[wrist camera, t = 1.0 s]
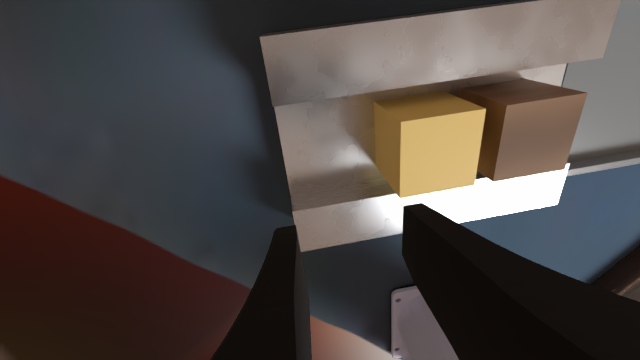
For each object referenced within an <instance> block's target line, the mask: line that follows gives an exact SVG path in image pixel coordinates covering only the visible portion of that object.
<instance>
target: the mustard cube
mask: <svg viewBox="0 0 640 360" xmlns="http://www.w3.org/2000/svg"><path fill="white" fill-rule="evenodd" d="M485 113H486V108H483V107H481V106H478V105H476V104H473V103H471V102H468V101H466V100H464V99H461V98H459V97H456V96H454V95H451V94H449V93H446V92H444V91H438V92H432V93H425V94H418V95H412V96H405V97H398V98H392V99H385V100H378V101H374V123H375V161H376V167H377V168H378V169H379V171H380V172H381V173H382V175H383V176H384V178H385V179H386V180H387V182H388V183H389V184H390V186H391V187H392V189H393V190H394V191H395V193H396V194H397V195H398V197H399V198H405V197H411V196H416V195H422V194H428V193H433V192H439V191H445V190H451V189H456V188H462V187H468V186H473V185H475V180H476V173H477V166H478V160H479V153H480V146H481V140H482V133H483V127H484V120H485Z"/></svg>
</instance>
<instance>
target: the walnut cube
mask: <svg viewBox="0 0 640 360" xmlns="http://www.w3.org/2000/svg"><path fill="white" fill-rule="evenodd" d="M587 94H588V93H587V92H582V91H578V90H573V89H569V88H564V87H560V86H556V85H551V84H547V83H542V82H538V81H533V80H529V79H518V80H511V81H505V82H498V83H491V84H485V85H478V86H471V87H465V88H459V94H458V97H459V98H461V99H464V100H466V101H468V102H471V103H473V104H476V105H478V106H481V107H483V108H486V113H485V120H484V127H483V133H482V140H481V146H480V153H479V160H478V166H477V171H478V172H480V173H481V174H483V175H484V176H485V177H487V178H488V179H489V180H491V181H492V182H496V181H502V180H507V179H513V178H519V177H524V176H530V175H536V174H541V173H547V172H553V171H558V170H564V169H565V166H566V163H567V159H568V156H569V153H570V150H571V146H572V143H573V140H574V136H575V133H576V130H577V127H578V123H579V120H580V117H581V113H582V110H583V107H584V104H585V100H586V97H587Z"/></svg>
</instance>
